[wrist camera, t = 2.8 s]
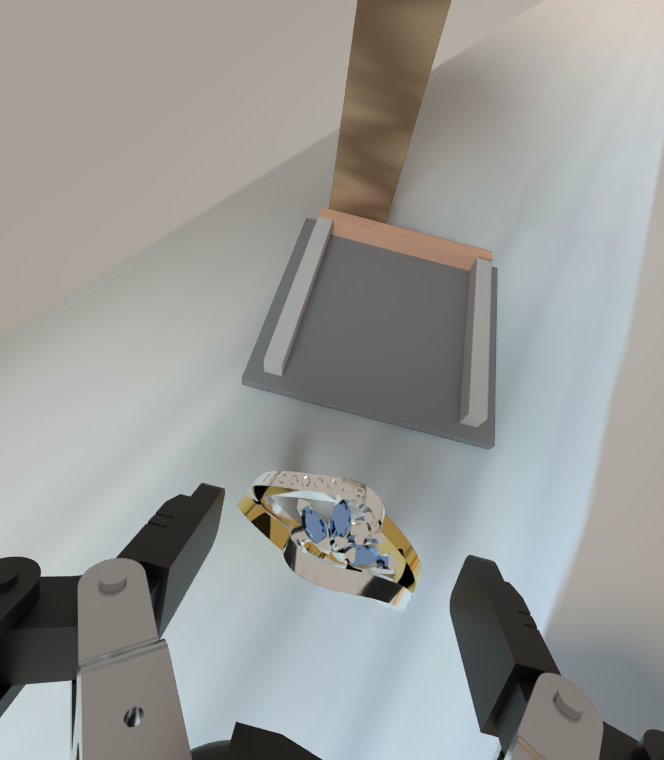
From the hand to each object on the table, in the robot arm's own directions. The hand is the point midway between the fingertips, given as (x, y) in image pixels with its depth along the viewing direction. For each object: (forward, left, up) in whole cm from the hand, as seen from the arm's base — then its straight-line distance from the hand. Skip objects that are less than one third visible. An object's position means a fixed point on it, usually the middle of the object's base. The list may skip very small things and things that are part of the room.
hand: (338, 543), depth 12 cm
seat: (+1, +14, -6) cm, 15 cm away
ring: (0, 0, -6) cm, 6 cm away
